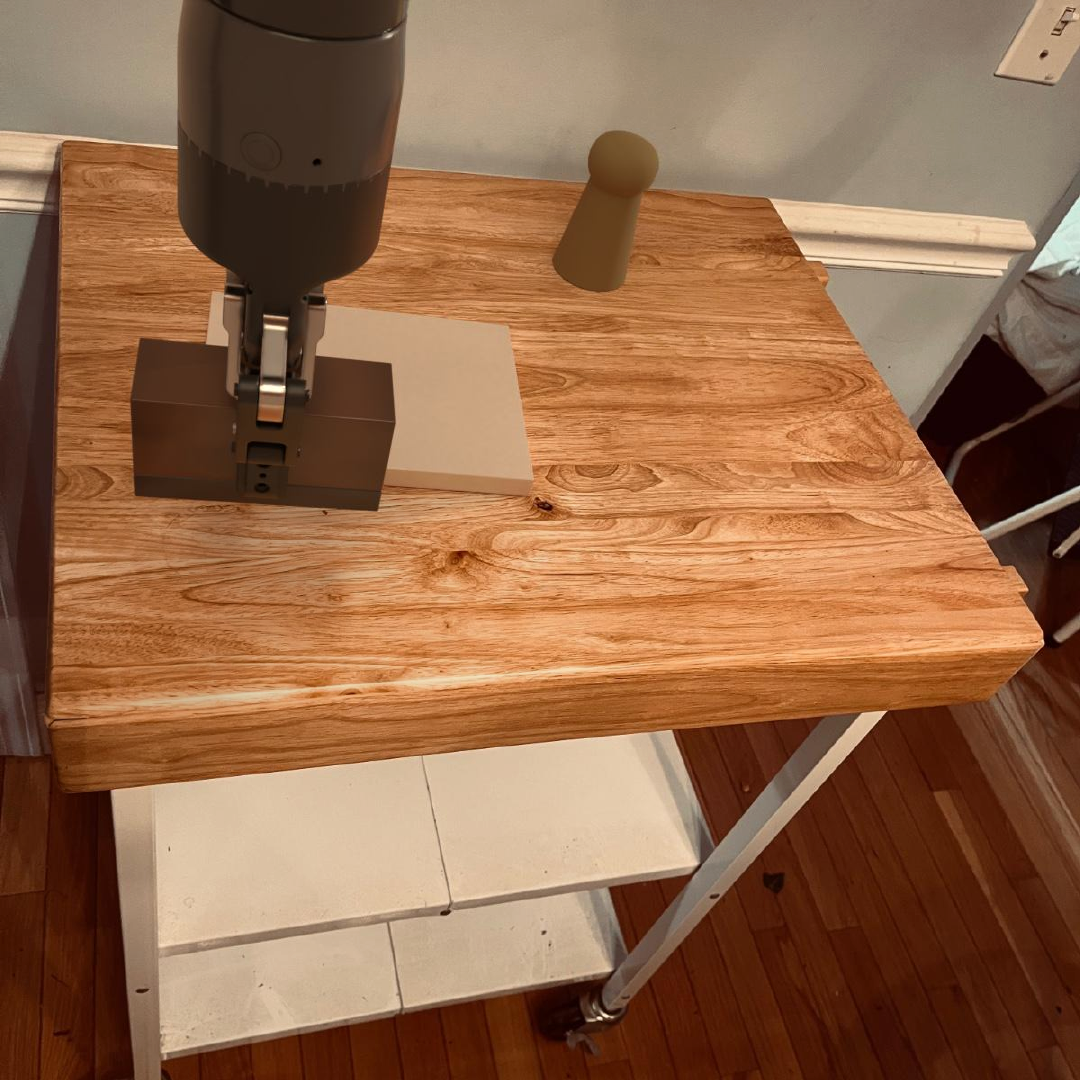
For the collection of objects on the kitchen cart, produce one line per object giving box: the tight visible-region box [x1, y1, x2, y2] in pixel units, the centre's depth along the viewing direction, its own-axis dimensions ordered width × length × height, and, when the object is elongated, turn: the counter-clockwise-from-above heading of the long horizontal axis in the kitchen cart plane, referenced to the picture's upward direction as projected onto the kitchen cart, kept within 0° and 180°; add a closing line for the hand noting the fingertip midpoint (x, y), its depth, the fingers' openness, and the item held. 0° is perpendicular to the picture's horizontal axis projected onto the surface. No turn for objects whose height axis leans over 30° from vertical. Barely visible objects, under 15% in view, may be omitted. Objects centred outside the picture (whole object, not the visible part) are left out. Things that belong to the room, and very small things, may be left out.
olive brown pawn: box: [552, 129, 660, 293], centre depth 81 cm, size 6×6×11 cm
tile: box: [205, 290, 535, 497], centre depth 68 cm, size 20×15×2 cm
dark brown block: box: [129, 337, 396, 513], centre depth 49 cm, size 11×4×6 cm, turn 99°
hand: (262, 454), depth 50 cm, fingers closed on dark brown block, 4 cm apart
